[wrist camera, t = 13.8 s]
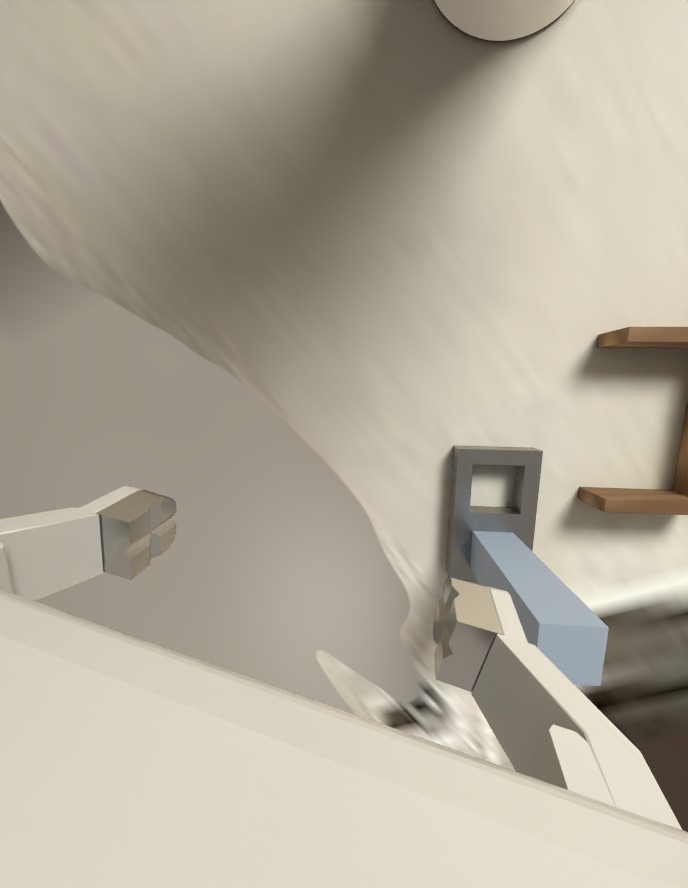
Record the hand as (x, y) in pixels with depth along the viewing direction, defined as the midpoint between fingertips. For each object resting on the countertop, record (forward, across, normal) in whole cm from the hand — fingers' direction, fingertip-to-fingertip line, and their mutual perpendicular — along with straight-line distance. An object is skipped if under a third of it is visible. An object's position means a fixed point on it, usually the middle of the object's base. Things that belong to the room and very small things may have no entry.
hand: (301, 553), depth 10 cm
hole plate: (+27, -13, +10) cm, 31 cm away
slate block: (+24, -14, +12) cm, 31 cm away
